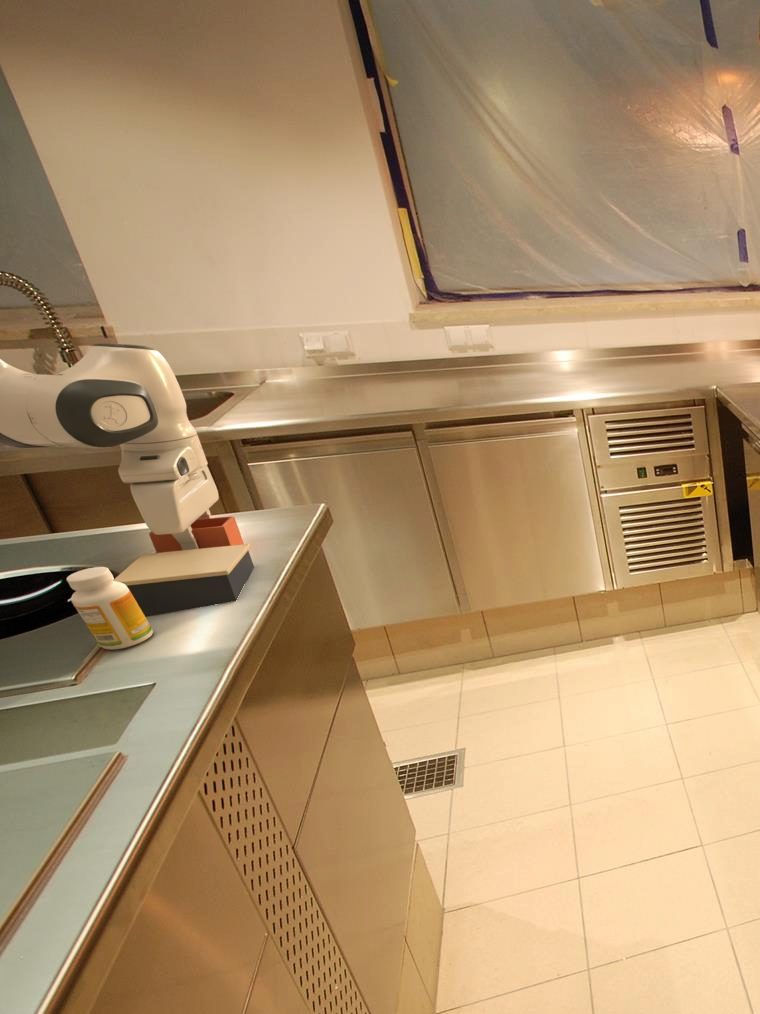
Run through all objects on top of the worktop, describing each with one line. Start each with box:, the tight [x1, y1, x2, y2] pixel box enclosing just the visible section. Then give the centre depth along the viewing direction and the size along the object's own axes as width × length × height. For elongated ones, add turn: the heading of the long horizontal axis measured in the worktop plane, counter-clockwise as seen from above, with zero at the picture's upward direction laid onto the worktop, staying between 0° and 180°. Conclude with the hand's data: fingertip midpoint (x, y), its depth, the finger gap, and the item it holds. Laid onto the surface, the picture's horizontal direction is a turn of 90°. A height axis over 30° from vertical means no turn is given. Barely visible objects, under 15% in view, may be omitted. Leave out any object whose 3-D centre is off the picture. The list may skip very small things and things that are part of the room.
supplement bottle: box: [66, 566, 154, 650], centre depth 107 cm, size 5×5×10 cm
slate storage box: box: [113, 543, 255, 618], centre depth 121 cm, size 13×13×6 cm
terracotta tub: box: [148, 515, 245, 553], centre depth 130 cm, size 9×6×5 cm, turn 116°
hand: (200, 545), depth 131 cm, fingers closed on terracotta tub, 6 cm apart
